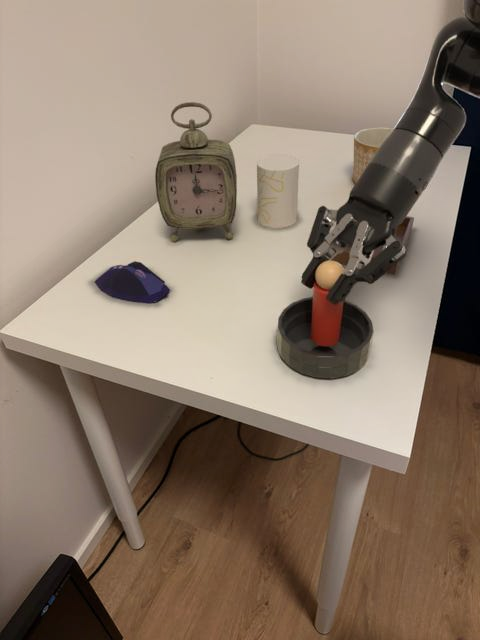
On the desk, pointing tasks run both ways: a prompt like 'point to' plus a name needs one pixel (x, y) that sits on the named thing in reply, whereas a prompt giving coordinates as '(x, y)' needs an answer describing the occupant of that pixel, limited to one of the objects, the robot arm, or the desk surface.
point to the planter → (367, 147)
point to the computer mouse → (132, 283)
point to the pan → (324, 359)
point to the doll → (326, 305)
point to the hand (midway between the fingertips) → (318, 293)
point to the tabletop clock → (196, 180)
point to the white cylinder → (277, 190)
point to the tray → (400, 235)
